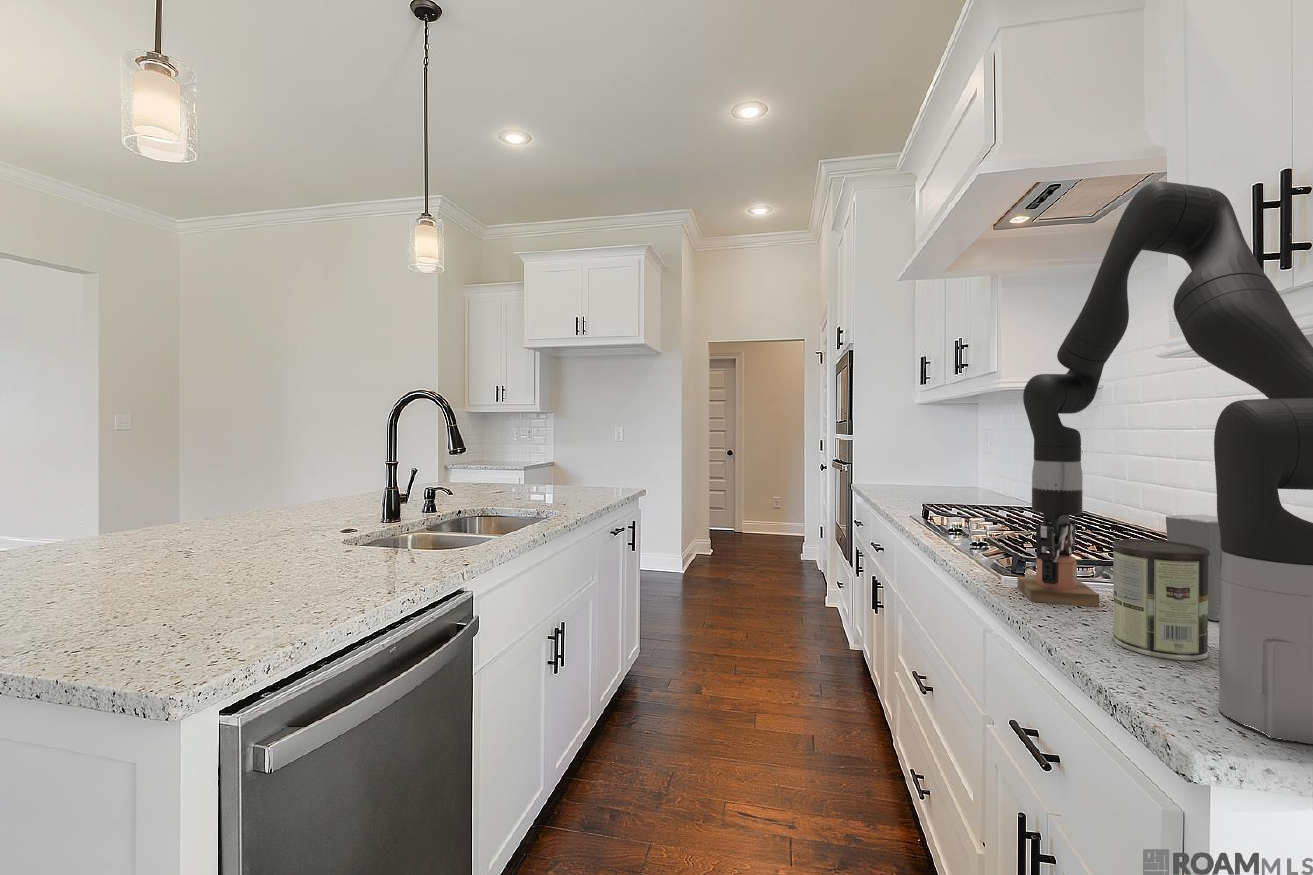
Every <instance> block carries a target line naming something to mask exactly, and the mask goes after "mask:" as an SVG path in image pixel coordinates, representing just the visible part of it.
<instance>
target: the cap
mask: <svg viewBox="0 0 1313 875" xmlns="http://www.w3.org/2000/svg"><path fill="white" fill-rule="evenodd" d="M1058 559H1059V561H1058V582H1057V583H1056V584H1048V583H1044V582H1043V581H1042V561H1041V560H1040V559H1037V558H1036V562H1035V564H1036V566H1035V567H1036V568H1035V570H1036V571H1035V572H1036V573H1035V574H1036V575H1035V578H1036V584H1039V585H1041V586H1043V587H1047V588H1053V589H1062V590H1073V589H1075V588H1076V587H1077V580H1078V579H1077V578H1078V577H1077V576H1078V575H1077V573H1078V561H1076V558H1075V557H1072V556H1071V557H1069V556H1064V555H1059V558H1058Z"/></svg>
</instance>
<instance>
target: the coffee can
mask: <svg viewBox="0 0 1313 875" xmlns="http://www.w3.org/2000/svg"><path fill="white" fill-rule="evenodd" d="M1111 543H1112V548H1113V554H1112V555H1113V556H1112V557H1113V564H1112V566H1113V568H1112V570H1113V575H1112V576H1113V583H1112V584H1113V594H1112V595H1113V600H1112V601H1113V606H1112V607H1113V610H1112V611H1113V614H1112V615H1113V619H1112V620H1113V625H1112V626H1113V627H1112V628H1113V636H1112V641H1113V642H1114V643H1115V644H1116V645H1118V646H1119V647H1122V648H1124V649H1126V650H1129V651H1132V652H1135V653H1139V654H1142V655H1146V656H1150V657H1153V658H1159V659H1165V660H1173V661H1188V662H1189V661H1190V662H1191V661H1202V660H1206V659H1207V658H1208V657H1209V655H1210V654H1209V652H1208V651H1209V650H1208V648H1209V645H1208V644H1209V642H1208V638H1209V637H1208V635H1209V634H1208V632H1209V630H1208V629H1209V621H1208V620H1209V619H1208V557H1209V555H1210V551H1209V550H1208V549H1206V548H1204V547H1200V546H1196V545H1191V544H1186V543H1179V542H1171V541H1167V540H1161V539H1160V540H1159V539H1158V540H1157V539H1147V538H1145V539H1144V538H1143V539H1142V538H1140V539H1139V538H1125V539H1123V538H1122V539H1117V540H1113V541H1112V542H1111Z"/></svg>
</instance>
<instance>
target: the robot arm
mask: <svg viewBox="0 0 1313 875" xmlns="http://www.w3.org/2000/svg"><path fill="white" fill-rule="evenodd" d="M1239 223H1240V222H1239V220H1238V218H1237V216H1236V212H1235V210H1234V207H1233V205H1232V203H1231V201H1230V200H1229V198H1228V196H1226V195H1225V194H1224V192H1221V191H1220V190H1217V189H1214V188H1212V187H1207V186H1199V185H1193V184H1192V185H1191V184H1184V183H1178V182H1172V181H1171V182H1169V181H1153V182H1150V183H1147V184H1146V185H1144V186H1143V187H1142V188H1141V189H1140V190H1138V191H1137V192H1136V193H1135V194H1134V195H1133V197H1132V198H1131V200H1130V201H1129V203H1128V204H1127V206H1126V207H1125V209H1124V211H1123V213H1122V215H1121V217H1120V219H1119V221H1118V223H1117V225H1116V228H1115V230H1114V233H1113V235H1112V238H1111V239H1110V242H1109V245H1108V248H1107V249H1106V252H1105V254H1104V256H1103V259H1102V262H1101V264H1100V267H1099V268H1098V271H1097V274H1096V277H1095V278H1094V281H1093V284H1092V286H1091V289H1090V292H1089V294H1088V296H1087V298H1086V301H1085V303H1084V305H1083V307H1082V309H1081V311H1080V313H1079V315H1078V316H1077V318H1076V319H1075V322H1073V325H1072V327H1071V328H1070V330H1069V332H1068V333H1067V335H1066V336H1065V338H1064V339H1063V342H1062V344H1060V345H1059V346H1060V347H1059V348H1058V351H1057V353H1056V354H1057V355H1056V357H1057V360H1058V362H1059V364H1060V365H1061V366H1063V367H1064V368H1066V369H1068V371H1067V372H1066V373H1041V374H1036V375H1034V376H1032V377H1031V378H1030V379H1029V380H1028V381H1027V383H1026V384H1025V386H1024V389H1023V393H1022V394H1023V395H1022V400H1023V401H1022V402H1023V406H1024V409H1025V412H1026V415H1027V416H1026V417H1027V419H1028V422H1029V427H1030V430H1031V433H1032V435H1033V436H1032V437H1033V466H1032V472H1031V510H1032V511H1033V512H1035V513H1038V514H1042V515H1043V519H1042V522H1041V523H1040V525H1039V524H1037V525H1036V526H1035V528H1034V529H1035V544H1036V545H1035V546H1036V559H1040V560H1041V561H1042V581H1043V582H1044V583H1048V584H1056V583H1057V582H1058V561H1059V559H1058V558H1059V555H1064V556H1069V557H1072V555H1073V553H1074V552H1075V550H1076V546H1075V545H1076V532H1077V530H1076V528H1077V527H1076V526H1077V521H1076V519H1075V518H1074V519H1073V518H1070V516H1079V515H1081V514H1083V485H1084V484H1083V483H1084V482H1083V481H1084V480H1083V469H1082V462H1081V461H1082V436H1081V432H1080V431H1079V430H1078V429H1076V428H1073V427H1069V426H1066V425H1063V423H1062V420H1061V418H1060V415H1059V414H1061V415H1062V414H1063V415H1064V414H1065V415H1067V414H1068V415H1069V414H1071V415H1072V414H1078V413H1080V412H1081V411H1083V410H1085V409H1086V408H1088V406H1090V405H1091V403H1092V402H1093V401H1094V398H1095V397H1096V394H1097V390H1098V388H1099V384H1100V381H1101V377H1102V375H1103V374H1102V373H1103V370H1104V366H1105V364H1106V363H1107V361H1108V360H1109V358H1110V356H1112V353H1113V352H1114V351H1115V349H1116V348H1117V346H1118V345H1119V344H1120V342H1121V341H1122V338H1123V337H1124V335H1125V333H1126V331H1127V328H1128V324H1129V318H1130V310H1129V309H1130V308H1129V306H1130V305H1129V299H1128V298H1129V297H1128V284H1129V282H1128V280H1129V274H1130V271H1131V268H1132V266H1133V264H1134V262H1135V260H1136V259H1137V257H1138V256H1139V255H1140V253H1141V252H1142V251H1149V252H1155V253H1161V254H1167V255H1173V256H1176V257H1179V258H1181V259H1183V260H1184V261H1185V263H1186V264H1187V265H1188V267H1189V268H1190V273H1188V275H1187V276H1186V277H1185V279H1184V280H1183V281H1182V282H1181V284H1180V286H1179V287H1178V289H1177V291H1176V293H1175V295H1174V299H1173V304H1172V305H1173V306H1172V307H1173V312H1174V316H1175V319H1176V321H1177V323H1178V325H1179V328H1180V330H1181V332H1182V334H1183V337H1184V339H1185V341H1186V343H1187V344H1188V346H1189V347H1190V348H1191V350H1192V351H1193V352H1194V353H1195V354H1197V355H1198V356H1199V357H1200V358H1202V359H1203V360H1205V361H1207V363H1209V364H1211V365H1213V366H1214V367H1216V368H1218V369H1220V370H1221V371H1223V372H1226V373H1227V374H1229V375H1231V376H1232V377H1234V378H1237V379H1238V380H1240V381H1242V382H1244V383H1246V384H1248V385H1249V386H1250V387H1253V388H1254V389H1256V390H1257V391H1259V392H1260V393H1261V394H1263V395H1264V396H1265V397H1266V398H1260V399H1257V398H1255V399H1254V398H1253V399H1252V398H1251V399H1241V400H1240V399H1239V400H1236V401H1233V402H1231V403H1229V404H1227V405H1226V406H1225V407H1224V409H1223V410H1222V411H1221V412H1220V414H1219V416H1218V418H1217V422H1216V425H1215V429H1214V436H1213V437H1214V439H1213V449H1214V450H1213V456H1214V469H1215V470H1214V472H1215V485H1216V486H1215V488H1216V517H1218V524H1219V529H1220V537H1221V550H1220V607H1219V622H1218V624H1219V626H1218V627H1219V628H1218V710H1219V712H1220V713H1221V712H1222V713H1223V714H1222V715H1224V716H1225V717H1226V716H1227V717H1226V718H1228V717H1230V718H1231V719H1233V720H1235V721H1237V722H1239V723H1241V724H1245V725H1248V726H1251V727H1254V728H1256V729H1258V730H1260V731H1263V732H1264V733H1265V734H1267V735H1268V736H1270V737H1271V738H1270V739H1272V738H1281V739H1285V740H1284V741H1286V740H1292V741H1291V742H1294V741H1298V742H1297V743H1303V744H1312V745H1313V522H1311V521H1310V520H1309V521H1308V520H1305V519H1303V518H1301V517H1298V516H1296V515H1295V514H1292V513H1291V512H1289V511H1288V510H1287V509H1285V508H1284V506H1282V503H1281V501H1280V494H1279V490H1299V491H1301V490H1303V491H1304V490H1305V491H1306V490H1307V491H1308V490H1310V491H1313V345H1312V344H1311V343H1310V340H1309V339H1308V337H1306V336H1305V334H1304V333H1303V331H1302V329H1301V328H1300V327H1299V325H1298V324H1297V322H1296V321H1295V319H1294V317H1293V316H1292V314H1291V313H1290V310H1289V308H1288V306H1287V305H1286V303H1285V302H1284V300H1283V298H1282V296H1281V295H1280V293H1279V291H1278V290H1277V289H1276V287H1275V285H1274V284H1273V282H1272V281H1271V280H1270V278H1269V277H1268V276H1267V275H1266V273H1265V272H1264V271H1263V269H1262V267H1261V266H1260V264H1259V263H1258V261H1257V259H1256V257H1255V255H1254V253H1253V252H1252V249H1251V248H1250V247H1249V245H1248V244H1247V241H1246V239H1245V237H1244V234H1243V232H1242V229H1241V227H1240V224H1239ZM1048 550H1049V552H1047V551H1048ZM1231 719H1230V720H1231ZM1233 720H1232V721H1233ZM1235 721H1234V722H1235ZM1237 722H1236V723H1237ZM1239 723H1238V724H1239ZM1241 724H1240V725H1241Z"/></svg>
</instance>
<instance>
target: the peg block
mask: <svg viewBox="0 0 1313 875" xmlns="http://www.w3.org/2000/svg"><path fill="white" fill-rule="evenodd" d="M1016 585H1017V588H1018V589H1019V590H1020V591H1021V593H1023V595H1024V596H1025V597H1026V598H1027V599H1028V600H1029V601H1030V602H1033V603H1034V602H1035V603H1044V604H1045V603H1047V604H1055V605H1056V604H1057V605H1059V604H1060V605H1072V606H1083V607H1084V606H1085V607H1096V608H1100V594H1098V593H1097V592H1096V591H1095V590H1093V589H1092V588H1090V587H1089V586H1088V585H1087V584H1085V583H1084V582H1082V581H1081V580H1078V579H1077V587H1076V588H1075V589H1073V590H1062V589H1053V588H1047V587H1043V586H1041V585H1039V584H1036V577H1034V576H1033V577H1030V576H1017V584H1016Z"/></svg>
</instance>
